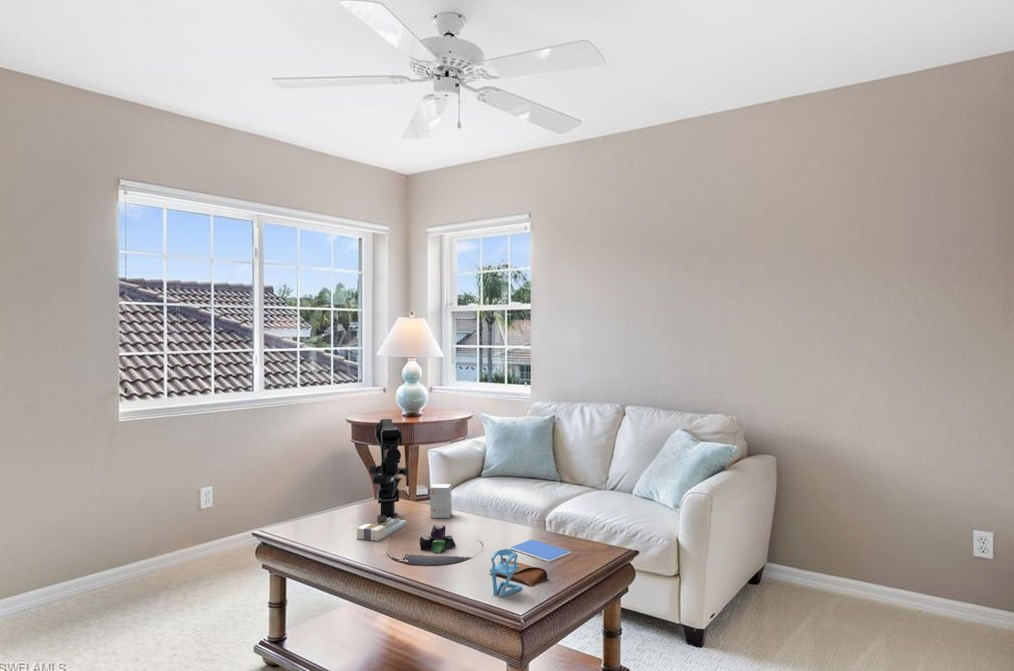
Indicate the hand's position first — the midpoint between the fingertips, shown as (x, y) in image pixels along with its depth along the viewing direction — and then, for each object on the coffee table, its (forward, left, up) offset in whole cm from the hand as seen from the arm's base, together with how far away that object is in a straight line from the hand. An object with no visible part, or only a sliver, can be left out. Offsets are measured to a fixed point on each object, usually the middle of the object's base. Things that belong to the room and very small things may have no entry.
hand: (391, 496), depth 256 cm
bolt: (+12, 0, -10) cm, 15 cm away
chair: (+47, +66, -12) cm, 82 cm away
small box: (-19, +13, -12) cm, 26 cm away
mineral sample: (+19, +29, -13) cm, 37 cm away
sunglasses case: (+35, +66, -13) cm, 76 cm away
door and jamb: (+7, 0, -12) cm, 14 cm away
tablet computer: (+10, +66, -13) cm, 68 cm away
